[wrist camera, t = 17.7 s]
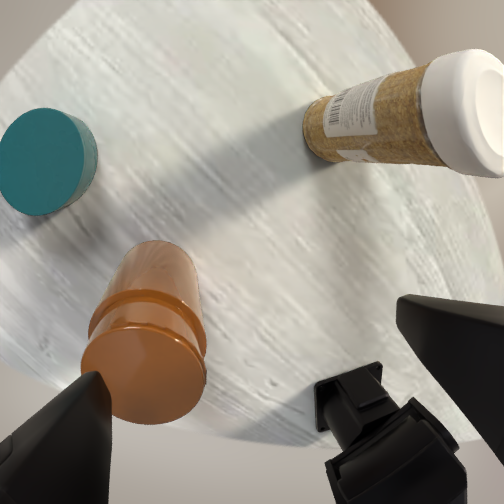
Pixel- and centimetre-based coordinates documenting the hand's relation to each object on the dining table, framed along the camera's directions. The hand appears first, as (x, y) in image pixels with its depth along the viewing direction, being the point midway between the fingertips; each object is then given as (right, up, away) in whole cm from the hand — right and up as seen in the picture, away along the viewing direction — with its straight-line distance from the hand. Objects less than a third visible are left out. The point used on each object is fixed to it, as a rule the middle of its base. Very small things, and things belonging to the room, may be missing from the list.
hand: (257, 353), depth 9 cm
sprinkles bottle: (+5, +11, +12) cm, 17 cm away
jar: (-6, +1, +12) cm, 13 cm away
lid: (-12, +9, +8) cm, 17 cm away
